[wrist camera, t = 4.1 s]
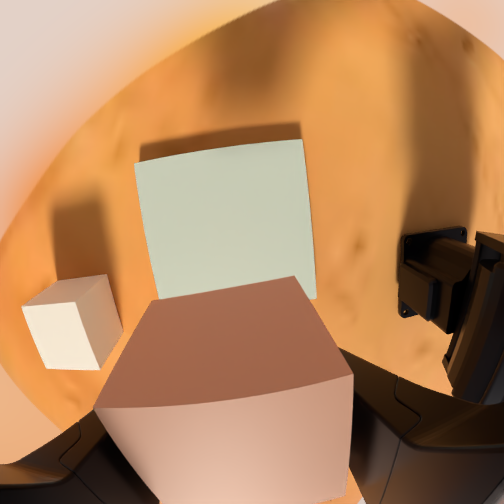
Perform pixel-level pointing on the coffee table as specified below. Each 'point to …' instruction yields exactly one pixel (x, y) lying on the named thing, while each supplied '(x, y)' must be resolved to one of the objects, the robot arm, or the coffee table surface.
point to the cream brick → (74, 323)
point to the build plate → (227, 218)
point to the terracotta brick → (233, 399)
